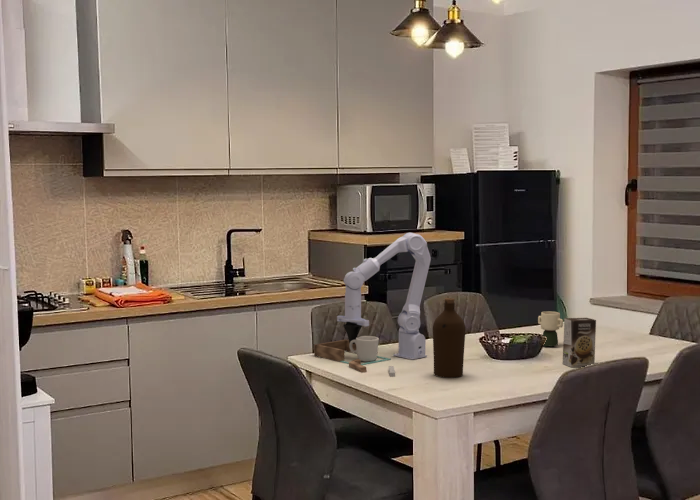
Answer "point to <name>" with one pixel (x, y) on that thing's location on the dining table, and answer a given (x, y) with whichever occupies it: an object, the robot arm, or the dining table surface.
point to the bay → (371, 362)
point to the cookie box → (579, 342)
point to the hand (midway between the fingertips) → (352, 343)
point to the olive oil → (448, 342)
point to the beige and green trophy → (550, 326)
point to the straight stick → (391, 371)
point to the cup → (365, 348)
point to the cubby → (333, 349)
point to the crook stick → (357, 365)
